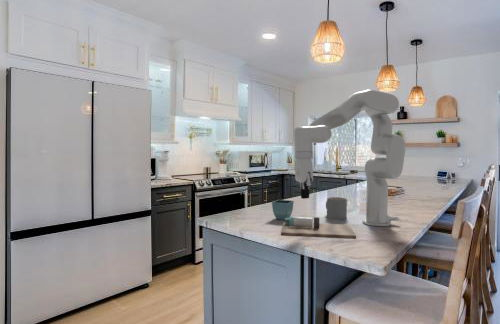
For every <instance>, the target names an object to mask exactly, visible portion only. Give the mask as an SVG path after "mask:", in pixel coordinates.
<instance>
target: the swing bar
mask: <svg viewBox="0 0 500 324" xmlns="http://www.w3.org/2000/svg"><path fill="white" fill-rule="evenodd" d="M313 224H314V217H309V216H308V217H307V216H306V217H304V216H290V217H289V225H292V226H307V227H312V226H313Z"/></svg>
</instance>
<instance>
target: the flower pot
mask: <svg viewBox="0 0 500 324" xmlns="http://www.w3.org/2000/svg"><path fill="white" fill-rule="evenodd" d="M271 207H272V212H273V216H274V218H276V220H284V221H285V218H289V217H290V216H291V215H292V213H293V209H294V200H285V199H277V200H274V201H271ZM291 217H292V216H291Z"/></svg>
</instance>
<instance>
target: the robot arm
mask: <svg viewBox="0 0 500 324" xmlns="http://www.w3.org/2000/svg"><path fill="white" fill-rule="evenodd" d="M399 106H400V101H399V99H398V98H397V96H396V95H394V94H392V93H387V92H382V91H379V90H374V89H366V90H362V91H357V92H355V93H352V94H351V95H350V96H348V97H346V99H344V101H342V102H341V103H340V104H338V105H337V106H336V107H335V108H333V109H331V110H330V111H327V113H325V114H323V115H322V116H319V117H318V118H317V119H315V120H314V121H312V122H311V123H309V125H308V126H306V125H305V126H296V127H295V128H294V130H293V136H294V137H293V139H294V140H293V141H294V160H295V165H294V172H295V173H294V180H295V181H296V182H297V183H298V182H299V187H300V197H301V199H303V200H304V199H310V186H311V185H312V184H311V183H312V182H313V181H314V170H313V169H314V168H313V161H312V160H313V159H314V156H313V155H314V151H313V148H314V147H313V144H324V143H327V142H328V141H330V139H331V138H332V130H333V129H335V128H339V127H341V126H344V125H347V124H348V123H349V122H350V121H351V120H353V119H354V118H355V117H356V116H357V115H358V114H360V113H361V112H363V111H365V112H366V114H367V115H368V117H369V118H370V120H371V121H372V133H371V134H372V135H371V142H370V150H371V152H372V153H373V154H374V155H377V156H386V157H372V158H369V159H368V160H367V161H366V162H365V164H364V172H365V178H366V179H365V181H366V193H365V194H366V197H365V200H366V201H365V202H366V203H365V204H366V205H365V206H366V207H365V208H366V209H365V218H364V219H362V223H363V224H365V225H368V226H371V227H372V226H373V227H389V226H391V225H392V221H395V222H399V217H398V216H394V215H389V214H388V211H389V210H388V209H389V208H388V207H389V205H388V203H389V200H388V199H389V185H388V182H387V180H396V179H398V178H399V177H400V176H401V175H402V174H403V169H404V161H405V154H406V142H405V139H404V138H403V136H402V135H399V134H394V133H393V121H392V119H391V118H390V115H391V114H394V113H395V112H396V111H397V110H398V109H399Z"/></svg>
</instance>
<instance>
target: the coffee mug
mask: <svg viewBox="0 0 500 324" xmlns="http://www.w3.org/2000/svg"><path fill="white" fill-rule="evenodd" d="M325 209H326V218H327V219H330V220H335V221H338V220H339V221H341V220H342V221H343V220H347V217H348V216H347V215H348V211H347V209H348V199H347V198H346V197H342V196H341V197H340V196H338V197H337V196H330V197H327V198H326V202H325Z"/></svg>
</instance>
